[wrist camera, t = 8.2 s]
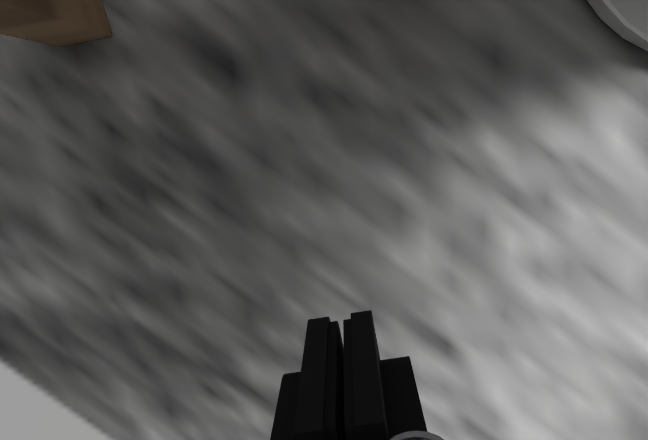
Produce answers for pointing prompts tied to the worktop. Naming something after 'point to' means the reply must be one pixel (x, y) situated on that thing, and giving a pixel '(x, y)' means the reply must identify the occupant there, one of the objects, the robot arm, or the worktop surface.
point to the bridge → (54, 20)
